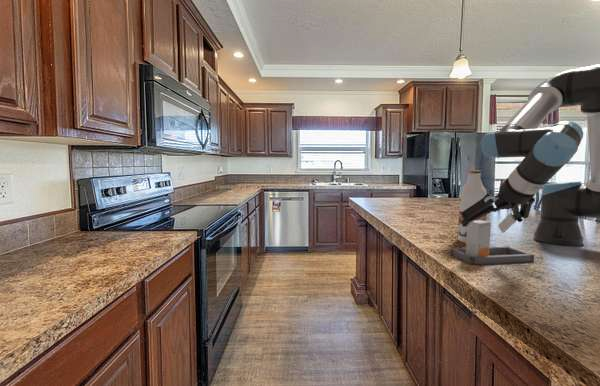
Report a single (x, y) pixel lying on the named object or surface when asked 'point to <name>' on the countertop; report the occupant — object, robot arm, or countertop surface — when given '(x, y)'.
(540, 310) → the countertop surface
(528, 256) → the slide track
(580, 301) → the countertop surface
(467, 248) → the skincare box
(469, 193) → the fruit juice
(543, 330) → the countertop surface
